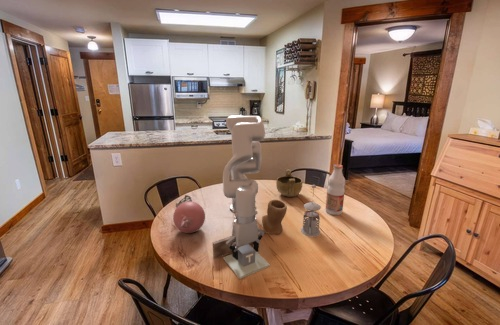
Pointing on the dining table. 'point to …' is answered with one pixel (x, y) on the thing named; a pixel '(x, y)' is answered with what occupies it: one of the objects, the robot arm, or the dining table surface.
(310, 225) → the french press
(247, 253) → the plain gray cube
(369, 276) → the dining table surface
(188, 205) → the balloon
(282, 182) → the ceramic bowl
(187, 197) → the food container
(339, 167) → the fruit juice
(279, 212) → the stone cup
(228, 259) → the display mat
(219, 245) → the walnut screen
